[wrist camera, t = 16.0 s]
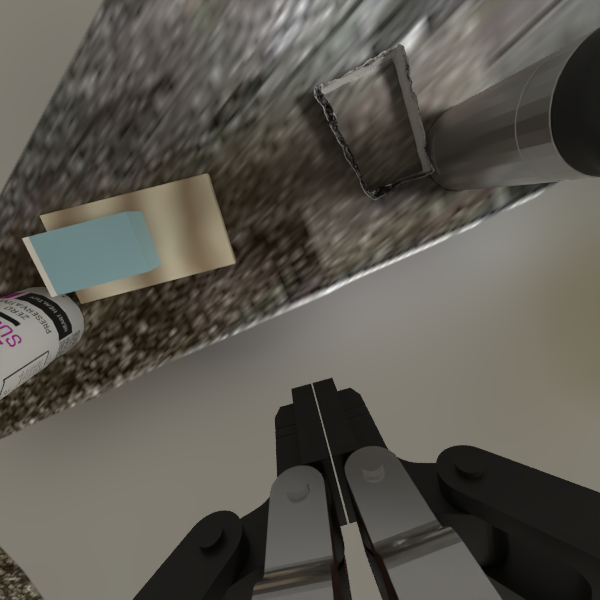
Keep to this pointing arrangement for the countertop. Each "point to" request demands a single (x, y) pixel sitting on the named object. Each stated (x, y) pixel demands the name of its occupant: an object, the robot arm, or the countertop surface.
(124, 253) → the block
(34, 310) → the supplement can
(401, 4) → the countertop surface
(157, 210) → the board
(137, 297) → the countertop surface
